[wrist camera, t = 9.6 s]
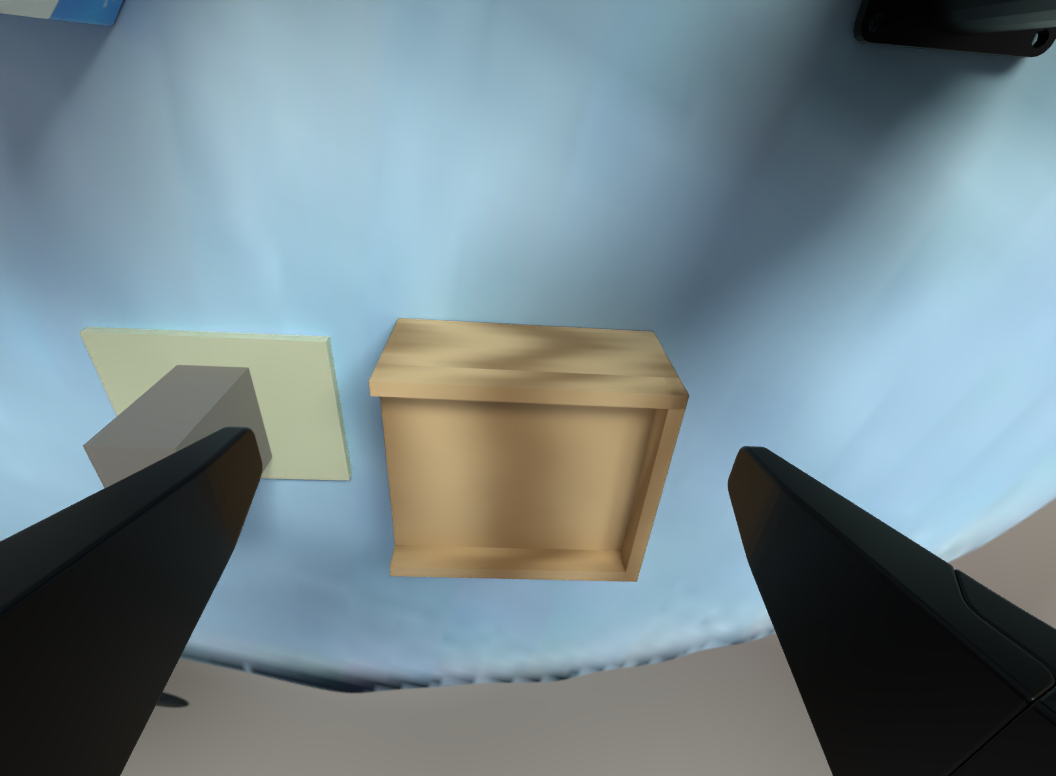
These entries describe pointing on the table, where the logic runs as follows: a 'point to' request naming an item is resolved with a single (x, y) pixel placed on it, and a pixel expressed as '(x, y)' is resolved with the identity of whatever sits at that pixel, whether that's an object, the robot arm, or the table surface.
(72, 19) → the ink box
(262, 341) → the cover plate
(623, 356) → the oak box
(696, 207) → the table surface
